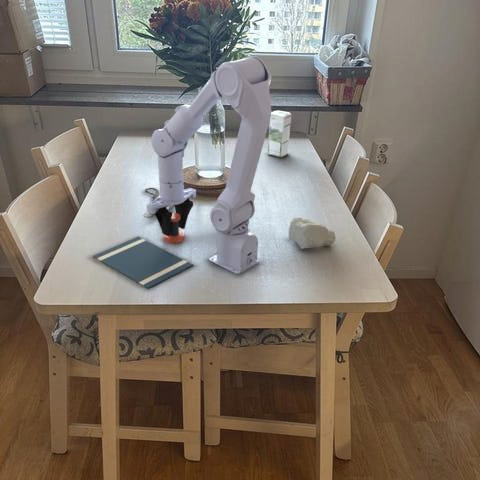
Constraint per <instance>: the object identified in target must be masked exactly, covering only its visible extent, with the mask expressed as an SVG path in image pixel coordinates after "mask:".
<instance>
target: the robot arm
mask: <svg viewBox="0 0 480 480" xmlns="http://www.w3.org/2000/svg"><path fill="white" fill-rule="evenodd" d="M271 80H272V75H271V72H270V71H269V69H268V67H267V65H266V63H265V62H264V60H263V59H262V58H261V57H259V56H256V55H251V56H248V57H246V58H241V59H237V60H232V61H225V62H222V63H221V64H220V65H219V66H218V67H217V69H216V70H215V71H213V72H212V73H211V74H210V78H209V79H208V81H207V82H206V83H205V85H204V86H203V87H202V89H201V90H200V91H199V93H197V95H196V96H195V98H194V99H193V100H192V102H191V103H190V104H183V105H178V106H177V107H176V108H175V109H174V112H175V113H174V114H173V116H171V117H170V119H168V120H166V121H164V126H163V128H159V129H155V130H154V131H153V133H152V135H151V139H150V142H151V147H152V149H153V151H154V153H156V155H157V167H158V169H157V170H158V183H159V192H158V193H159V197H158V198H156V199H155V198H154V199H153V200H152V201H151V202H149V203H147V204H146V211H147V212H146V213H148V214H150V213H151V214H154V217H155V218H156V220H157V222H158V224H159V227H160V230H161V233H162V235H163V236H164V235H166V236H169V235H170V222H171V217H172V214H173V213H174V212H172V211H171V212H169V211H168V209H169V206H172V205H174V206H173V208H174V211H175V213H178V214H180V220H179V229H180V230H181V229H182V230H185V229H186V226H187V222H188V218H189V216H190V215H189V214H190V212H191V210H192V208H193V207H194V201H193V200H190V199H194V198H196V197H197V189H195V188H192V187H189V188H184V187H185V186H184V160H183V159H184V157H185V150H186V148H187V146H188V143H189V140H190V139H191V138H192V137H193V136H194V135H195V133H197V132H198V131H199V129H200V128H201V127H202V126H203V116H205V115H206V114H207V113H208V112H209V111H210V110H211V109H212V108H213V107H214V106H215V105H217V104H218V103H219V102H220V100H222V98H223V99H224V100H225V101H226V102H227V103H228V104H229V105H230V106H231V108H233V110H234V111H235V112H236V113H237V114H238V115H239V116H240V117H241V120H240V125H239V129H238V134H237V137H236V142H235V146H234V147H235V148H234V149H233V150H234V151H233V154H232V159H231V163H230V167H229V172H228V176H227V181H226V185H225V188H223V191H222V192H221V193H220V194H219V196H218V198H217V199H216V203H215V205H214V206H213V207H212V209H211V210H210V214H209V220H210V222H211V224H212V226H213V228H214V229H215V231H216V254H214V255H212V256H211V257H209V258H208V261H209V262H211V263H213V264H215V265H217V266H219V267H221V268H223V269H226V270H227V271H229V272H231V273H232V274H233V273H234V274H235V275H239V274H241V273H243V272H245V271H247V270H249V269H251V268H252V267H254V266H255V265H257V264H259V262H260V260H258V250H259V249H258V248H259V238H258V237H257V236H256V234H254V233H253V232H252V231H251V230H250V229H249V224H250V220H251V218H253V217H254V215H255V211H256V207H255V206H256V205H255V198H256V194H255V193H254V192H253V190H252V187H253V183H254V180H255V176H256V172H257V169H258V165H259V161H260V157H261V154H262V150H263V147H264V143H265V139H266V136H267V132H268V130H269V125H270V118H271V113H272V105H271V103H272V102H271V96H270V84H271ZM151 214H150V215H151Z"/></svg>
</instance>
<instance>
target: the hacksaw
mask: <svg viewBox="0 0 480 480" xmlns="http://www.w3.org/2000/svg"><path fill="white" fill-rule="evenodd" d="M149 190H154V191H155V193H154V192H150V191H149ZM144 192H145V193H147V194H150V195H152V198H153V199H154V200H155V199H156V198H158V197H159V193H160V192H159V191H158V189H157V188H155V187H149V188H146V189H145V190H144ZM167 209H168V211H169V212H172V211H173V210H174V205H172V206H168V208H167ZM147 214H148V212H146V213H144V214H143V217H144V218H146V219H149V218H153V217H155V215H154V214H151V213H149V215H150V216H145V215H147Z"/></svg>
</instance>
